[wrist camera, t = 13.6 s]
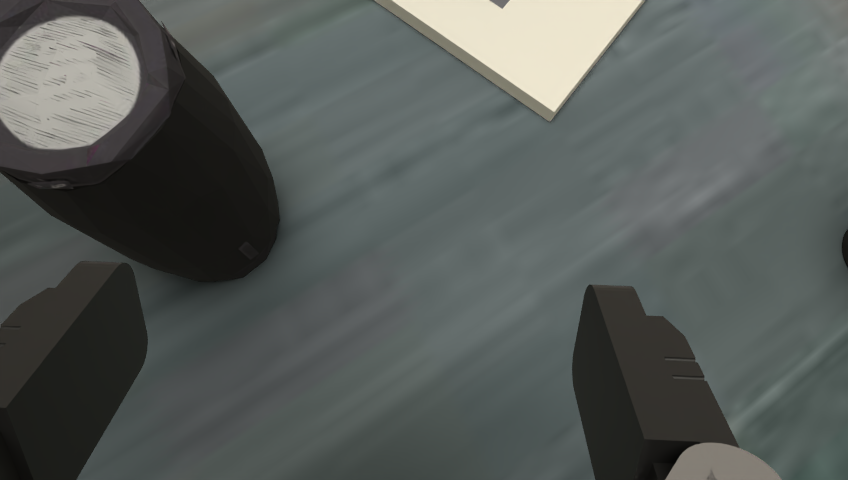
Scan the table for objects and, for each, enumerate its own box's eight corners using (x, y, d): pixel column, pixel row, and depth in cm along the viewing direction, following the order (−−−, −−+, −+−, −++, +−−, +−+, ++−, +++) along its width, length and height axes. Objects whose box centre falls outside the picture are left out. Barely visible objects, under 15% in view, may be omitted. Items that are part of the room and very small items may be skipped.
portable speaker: (126, 196, 43) (-110, 21, 24) (262, 137, 44) (141, -75, 25) (173, 317, 41) (-43, 231, 22) (314, 252, 42) (226, 116, 23)
